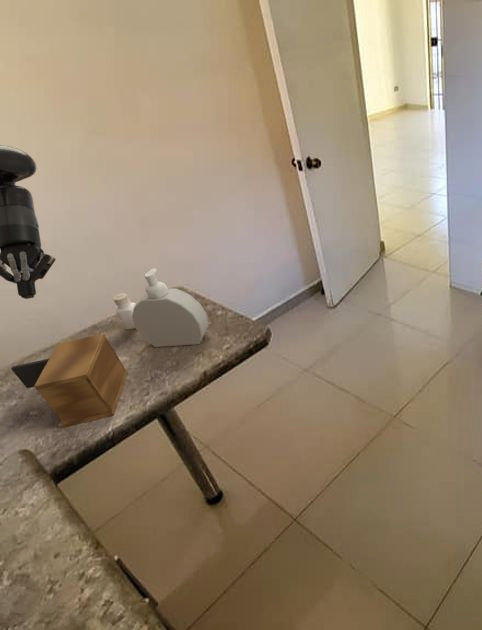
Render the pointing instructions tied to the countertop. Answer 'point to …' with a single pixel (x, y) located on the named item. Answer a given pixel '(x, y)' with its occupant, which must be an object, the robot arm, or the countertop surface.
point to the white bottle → (125, 310)
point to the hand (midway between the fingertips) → (27, 297)
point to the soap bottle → (169, 315)
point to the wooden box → (82, 380)
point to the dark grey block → (29, 372)
